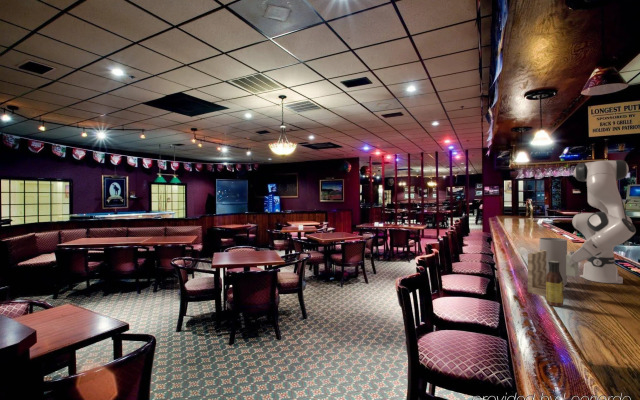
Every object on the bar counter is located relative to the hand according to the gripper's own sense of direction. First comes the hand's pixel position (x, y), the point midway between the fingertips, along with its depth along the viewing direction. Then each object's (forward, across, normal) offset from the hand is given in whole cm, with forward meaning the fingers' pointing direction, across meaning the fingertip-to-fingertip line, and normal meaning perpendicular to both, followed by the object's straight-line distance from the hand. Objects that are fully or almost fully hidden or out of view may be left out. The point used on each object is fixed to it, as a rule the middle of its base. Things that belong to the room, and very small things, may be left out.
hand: (570, 263), depth 154 cm
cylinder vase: (+22, -20, +2) cm, 29 cm away
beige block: (+4, 0, +4) cm, 6 cm away
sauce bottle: (+12, +20, +12) cm, 26 cm away
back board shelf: (+19, +1, +4) cm, 19 cm away
